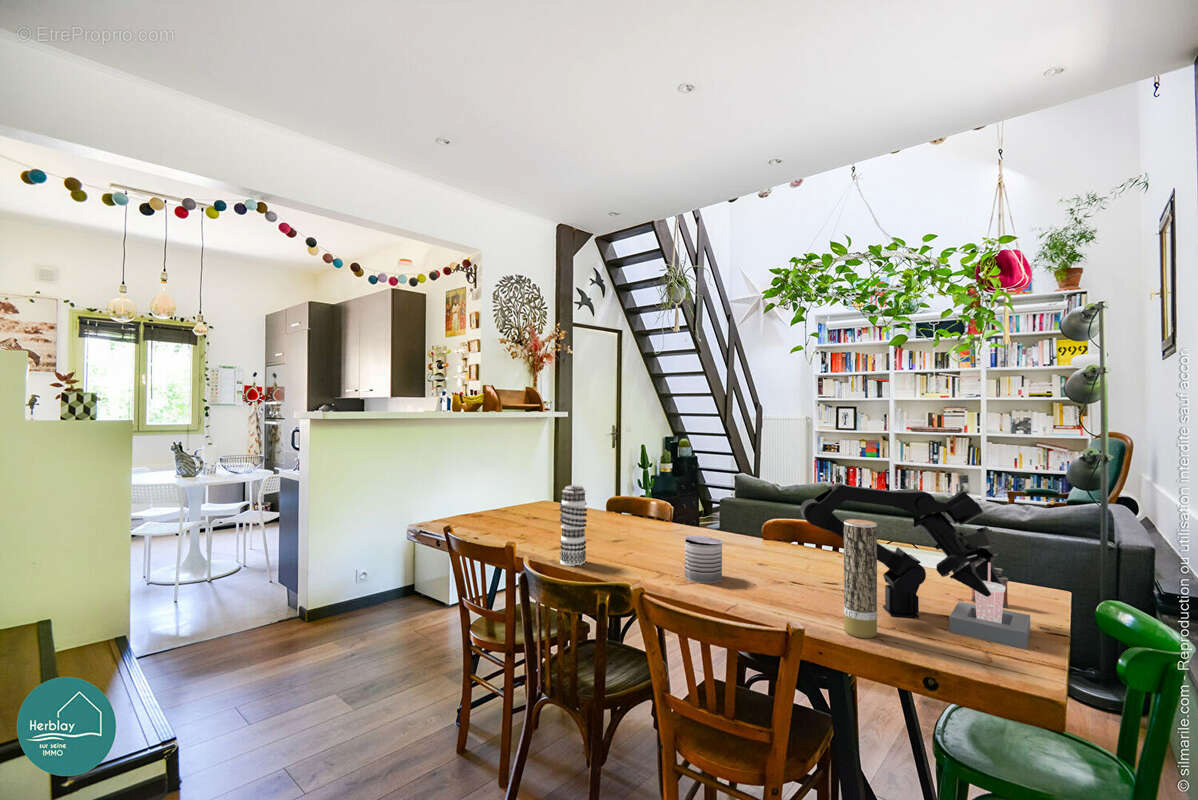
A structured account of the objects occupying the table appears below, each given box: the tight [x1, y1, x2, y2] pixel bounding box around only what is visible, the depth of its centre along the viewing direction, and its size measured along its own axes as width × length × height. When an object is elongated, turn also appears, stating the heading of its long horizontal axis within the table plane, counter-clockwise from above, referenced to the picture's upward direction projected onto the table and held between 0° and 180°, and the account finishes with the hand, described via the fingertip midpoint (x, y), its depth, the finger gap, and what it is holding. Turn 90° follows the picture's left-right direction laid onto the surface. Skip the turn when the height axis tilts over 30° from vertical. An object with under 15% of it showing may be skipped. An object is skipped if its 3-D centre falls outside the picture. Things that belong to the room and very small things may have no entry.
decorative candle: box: [559, 484, 588, 567], centre depth 184 cm, size 9×9×25 cm
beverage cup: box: [975, 562, 1006, 623], centre depth 128 cm, size 6×6×14 cm
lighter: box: [971, 565, 1009, 609], centre depth 147 cm, size 8×3×10 cm, turn 44°
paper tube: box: [843, 518, 878, 639], centre depth 126 cm, size 7×7×25 cm
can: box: [683, 535, 724, 584], centre depth 168 cm, size 11×11×12 cm
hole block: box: [948, 601, 1031, 650], centre depth 128 cm, size 14×14×4 cm
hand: (995, 593), depth 127 cm, fingers closed on beverage cup, 6 cm apart
